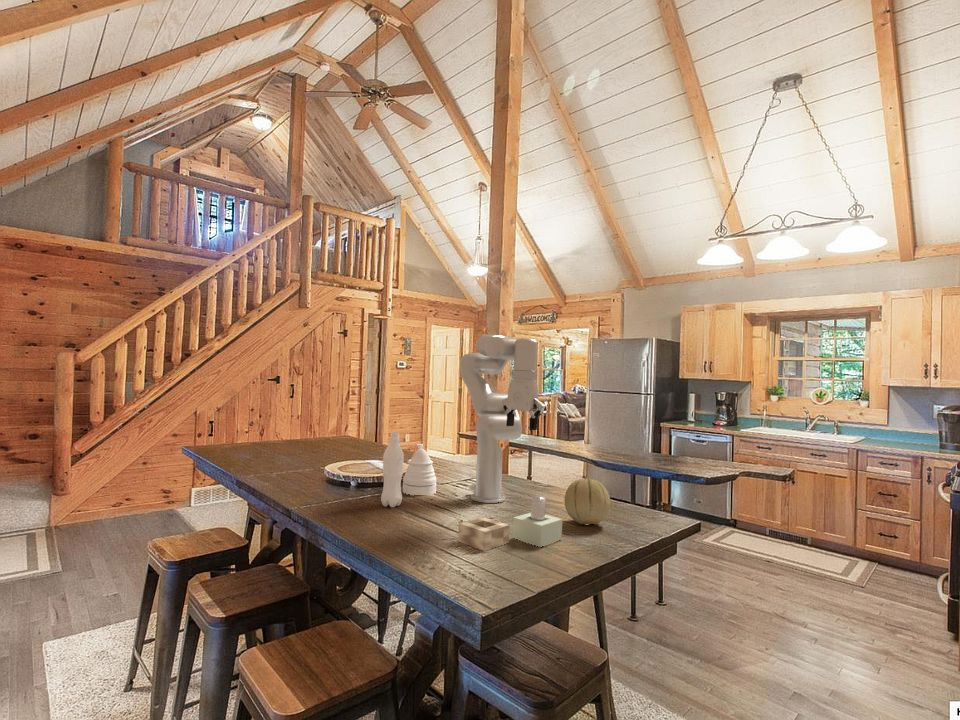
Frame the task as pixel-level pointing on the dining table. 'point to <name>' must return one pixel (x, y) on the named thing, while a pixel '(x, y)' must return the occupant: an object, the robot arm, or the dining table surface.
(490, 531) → the socket block
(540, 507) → the steel peg
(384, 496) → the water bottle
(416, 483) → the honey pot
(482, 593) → the dining table surface
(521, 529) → the block
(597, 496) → the cantaloupe
